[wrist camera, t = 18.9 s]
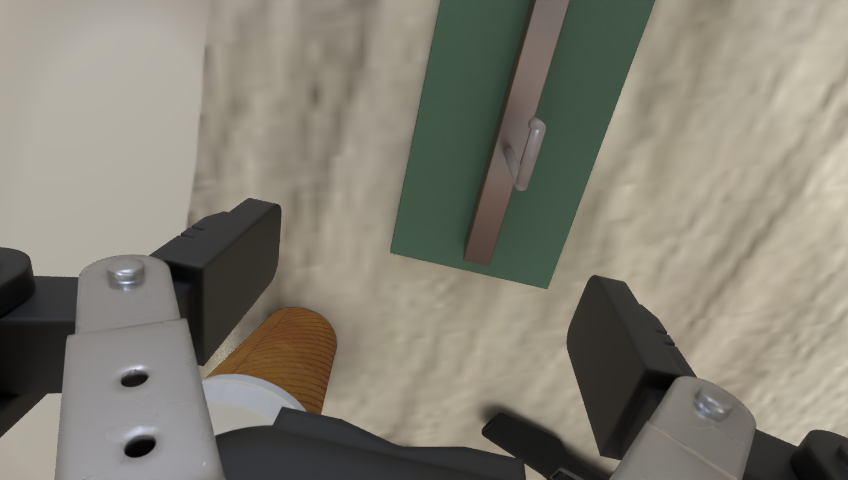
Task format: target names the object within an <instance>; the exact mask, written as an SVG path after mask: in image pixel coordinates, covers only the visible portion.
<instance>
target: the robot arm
mask: <svg viewBox="0 0 848 480" xmlns="http://www.w3.org/2000/svg"><path fill="white" fill-rule="evenodd" d="M280 229H281V207H280V205H279V204H275V203H270V202H266V201H261V200H257V199H252V198H248V199H246V200H245V201H244V202H242V203H241V204H240V205H238V206H237V207H235V208H234V209H233V210H231V211H230V212H221V213H217V214H214V215H211V216H207V217H204V218H203V219H201V220H200V221H199V222H197V223H196V224H194V225H193V226H192V228H188V229H187V230H185V231H184V232H183V233H181V236H177V237H175V238H174V239H173V240H171V241H169V242H168V243H167V244H165V245H164V246H162V247H161V248H159V249H158V250H156V251H155V252H153V253H152V254H151V255H149V256H145V255H120V256H113V257H109V258H105V259H101V260H99V261H96V262H94V263H92V264H90V265H88V266H87V267H85V268H84V269H83V270H82V271H81V273H80V275H79V277H49V276H33V270H32V265H31V260H30V257H29V256H28V255H27V254H25V253H24V252H22V251H19V250H15V249H10V248H2V247H0V437H1V436H3V435H4V434H5V433H6V432H7V431H8V430H9V429H10V428H11V427H12V426H13V425H14V424H15V423H17V422H18V421H19V420H20V419H21V418H22V417H23V416H24V415H25V414H26V413H27V412H28V411H29V410H31V409H32V408H33V407H34V406H35V405H36V404H37V403H38V402H39V401H40V400H41V399H42V398H43V397H44V396H45V395H46V394H48V393H62V398H61V411H60V422H59V434H58V445H57V457H56V469H55V480H526V475H525V467H524V460H522V459H517V458H513V457H508V456H504V455H499V454H495V453H490V452H486V451H481V450H477V449H472V448H468V447H403V446H398V445H396V444H393V443H391V442H389V441H387V440H385V439H382V438H380V437H378V436H376V435H374V434H372V433H370V432H367V431H365V430H363V429H361V428H359V427H357V426H354V425H352V424H350V423H348V422H346V421H344V420H342V419H337V418H333V417H328V416H324V415H319V414H315V413H310V412H306V411H301V410H297V409H292V408H288V407H283V406H282V407H281V409H280V411H279V413H278V415H277V417H276V419H275V421H274V423H273V425H261V426H251V427H245V428H240V429H235V430H231V431H228V432H224V433H221V434H218V435H214V431H213V427H212V422H211V418H210V414H209V410H208V406H207V402H206V397H205V393H204V389H203V385H202V381H201V376H200V372H199V368H198V365H201V366H204V365H205V364H206V362H207V361H208V360H209V359H210V358H211V356H212V355H213V354H214V353H215V351H216V350H217V349H218V348H219V346H220V345H221V344H222V343H223V341H224V340H225V339H226V338H227V336H228V335H229V334H230V333H231V331H232V330H233V329H234V328H235V326H236V325H237V324H238V323H239V321H240V320H241V319H242V318H243V317H244V315H245V314H246V313H247V312H248V310H249V309H250V308H251V307H252V305H253V304H254V303H255V302H256V300H257V299H258V298H259V297H260V295H261V294H262V293H263V292H264V290H265V289H266V288H267V287H268V285H269V284H270V283H271V281H272V280H273V277H274V275H275V272H276V269H277V265H278V258H279V243H280ZM567 350H568V353H569V356H570V360H571V363H572V366H573V369H574V373H575V376H576V379H577V382H578V385H579V389H580V392H581V395H582V398H583V402H584V405H585V408H586V411H587V414H588V418H589V421H590V424H591V427H592V431H593V434H594V437H595V440H596V443H597V447H598V450H599V453H600V456H604V457H608V458H613V459H617V460H621V462H620V463H619V465H618V467H617V468H616V470H615V471H614V473H613V474H612V476H611V478H610V479H609V480H848V438H845V437H843V436H841V435H838V434H836V433H832V432H829V431H824V430H812V431H810V432H809V433H808V434H807V436H806V437H805V438H804V439H803V441H802V442H801V443H800V445H799V446H798V447H797V446H794V445H792V444H790V443H787V442H785V441H783V440H780V439H778V438H776V437H773V436H771V435H769V434H766V433H764V432H762V431H759V430H757V429H756V422H755V419H754V417H753V415H752V414H751V412H750V411H749V410H748V409H747V407H746V406H745V405H744V404H743V403H742V402H741V401H739V400H738V399H737V398H736V397H735V396H733V395H732V394H730V393H729V392H727V391H726V390H724V389H723V388H721V387H719V386H717V385H715V384H713V383H711V382H708V381H706V380H703V379H700V378H697V377H696V375H695V374H694V372H693V371H692V369H691V368H690V366H689V365H688V363H687V362H686V360H685V358H684V357H683V355H682V354H681V352H680V351H679V349H678V348H677V347H675V343H674V342H673V340H672V339H671V337H670V336H669V335H667V331H666V330H665V328H664V327H663V325H662V324H661V322H660V321H659V319H658V318H657V317H655V316H654V315H653V314H652V313H651V312H650V311H648V310H647V309H646V308H645V307H644V306H643V305H640V304H639V303H638V301H637V300H636V298H635V297H634V295H633V294H632V292H631V290H630V289H629V287H628V286H627V284H626V283H625V282H623V281H619V280H614V279H610V278H605V277H601V276H596V275H593V276H592V277H591V278H590V279H589V280H588V282H587V284H586V287H585V289H584V292H583V294H582V296H581V299H580V301H579V304H578V306H577V309H576V311H575V313H574V316H573V318H572V321H571V323H570V326H569V329H568V334H567Z"/></svg>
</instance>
